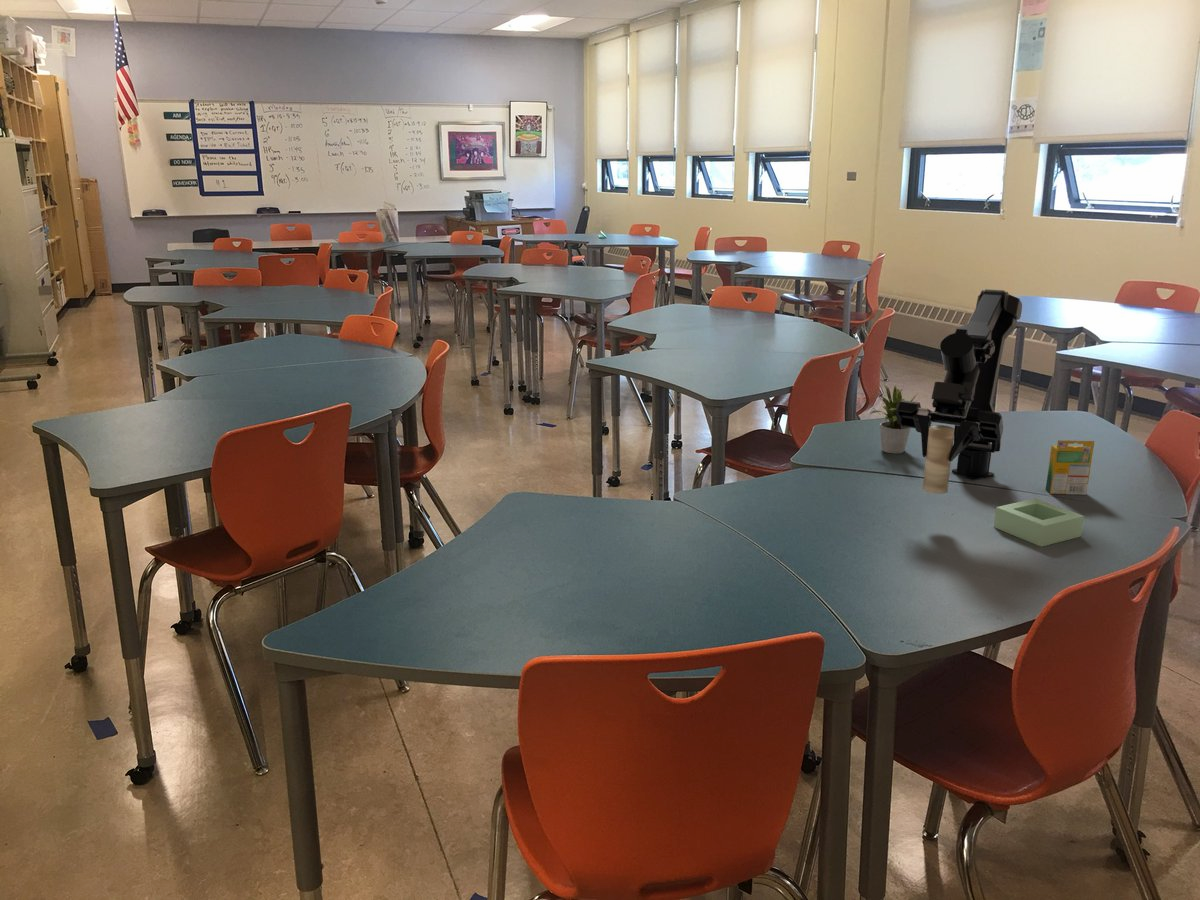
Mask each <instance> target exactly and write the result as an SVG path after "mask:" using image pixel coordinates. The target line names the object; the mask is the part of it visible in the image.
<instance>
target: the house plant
mask: <svg viewBox="0 0 1200 900" xmlns="http://www.w3.org/2000/svg"><path fill="white" fill-rule="evenodd" d="M882 385H883V387H884V388H885V391H886V396H887V398H888V399H887V398H886V397H883V396H882V395H881V394H879V392H877V391H876V390H874V389H870V388H868V390H869V391H870V390H871V391H874V392H875V393H877V394H876V396H877V398H879V400H881V402H882V403H883V406H881V407H882V408H883V409H884V410H885V411H886V412H883V411H882V410H875V408H874V407H872V406H870V408H871V409H873V410H872V411H871V412H869V415H868V416H870V415H872V414H875V413H882V414H884V415H885V416H884V417H885V418H884V420H885V421H883V422H880V423H879V432H880V443H881V445H880V446H881V450H882V451H883V452H885V453H888V454H903V453H904V452H905V450H906V446H907V443H908V438H909V435H910V431H911V428H910V427H903V426H901V425H899V423H898V420H897V416H896V413H895V409H896V406H897V404H898V403H899V402H900V401H902V400H904V401H905V398H903V395H902V390H903V388H904V387H905V385H903V386H902V387H901V389H899V387H897V385H896V384H895V385H894V387H893V391H892V394H891V391H890V389H889V387H888V386H887V385H886V384H885V383H882ZM875 393H873V392H872V394H873V395H875ZM918 394H919V392H918V393H916V394H915V395H914V396H913V397H912V398H911V400H910V401H912V402H914V399H915V398H916V396H917V395H918ZM878 395H880V396H878ZM924 397H926V395H924V396H921V397H919V398H918V399H916V401H915V402H918V400H920V399H921V398H924ZM866 407H868V408H869V406H866ZM888 420H889V421H888Z"/></svg>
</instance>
